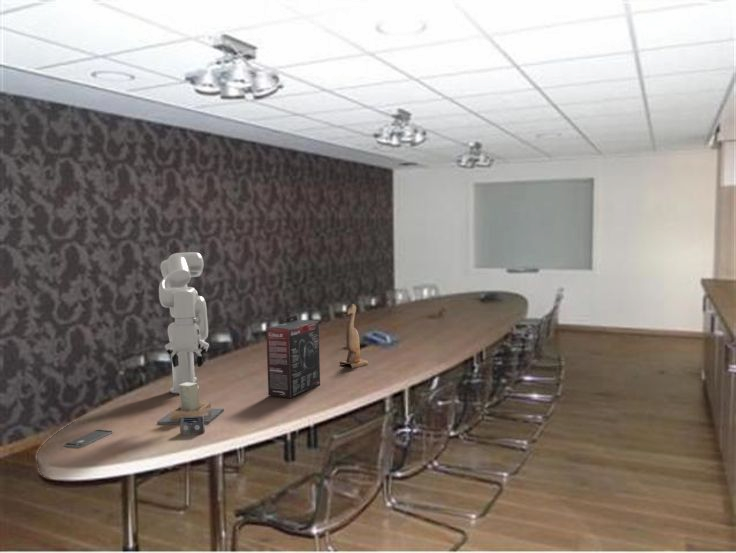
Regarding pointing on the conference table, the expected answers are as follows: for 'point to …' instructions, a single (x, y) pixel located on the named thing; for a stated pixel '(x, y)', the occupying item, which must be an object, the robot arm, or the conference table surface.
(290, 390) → the headset box
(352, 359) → the bird sculpture
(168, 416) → the collar socket
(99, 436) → the phone
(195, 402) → the skincare box
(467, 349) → the conference table surface
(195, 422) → the mini dv tape
